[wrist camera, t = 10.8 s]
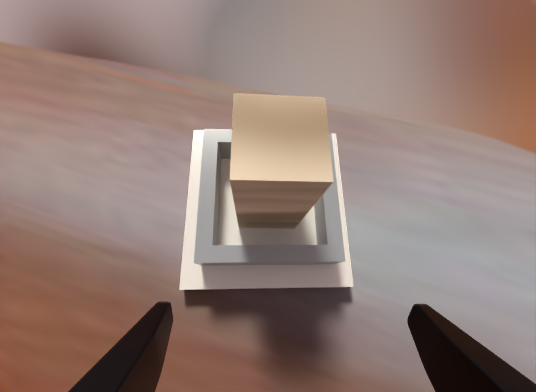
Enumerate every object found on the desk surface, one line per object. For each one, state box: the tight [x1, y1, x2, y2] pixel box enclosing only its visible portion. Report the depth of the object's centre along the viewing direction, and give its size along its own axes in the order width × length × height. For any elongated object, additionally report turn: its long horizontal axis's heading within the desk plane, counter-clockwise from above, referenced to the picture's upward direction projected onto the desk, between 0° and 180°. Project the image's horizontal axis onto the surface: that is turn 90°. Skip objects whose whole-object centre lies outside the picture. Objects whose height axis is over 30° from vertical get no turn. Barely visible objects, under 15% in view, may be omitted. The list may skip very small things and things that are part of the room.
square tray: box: [179, 129, 353, 290], centre depth 18 cm, size 12×12×4 cm
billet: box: [230, 93, 333, 229], centre depth 15 cm, size 4×4×9 cm
